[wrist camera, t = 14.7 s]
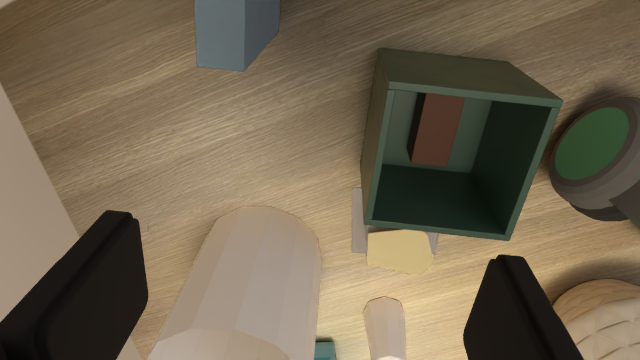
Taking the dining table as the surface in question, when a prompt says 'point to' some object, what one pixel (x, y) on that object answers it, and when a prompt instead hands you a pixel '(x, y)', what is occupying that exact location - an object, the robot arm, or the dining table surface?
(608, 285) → the vase
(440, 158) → the reddish brown block
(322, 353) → the teal box
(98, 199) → the dining table surface
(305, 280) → the container
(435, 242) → the stacked layers on plate
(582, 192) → the headphones
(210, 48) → the grey-blue rectangular block
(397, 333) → the pepper shaker
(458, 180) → the bin
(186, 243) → the dining table surface
